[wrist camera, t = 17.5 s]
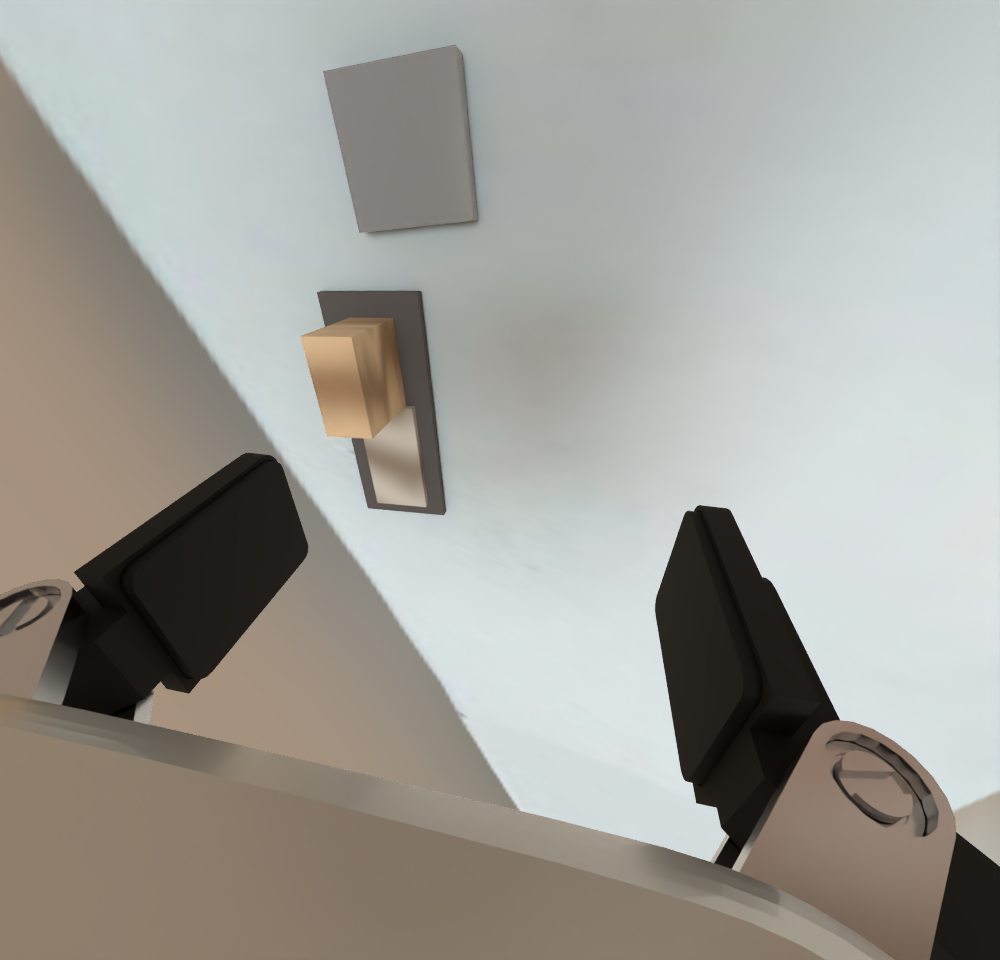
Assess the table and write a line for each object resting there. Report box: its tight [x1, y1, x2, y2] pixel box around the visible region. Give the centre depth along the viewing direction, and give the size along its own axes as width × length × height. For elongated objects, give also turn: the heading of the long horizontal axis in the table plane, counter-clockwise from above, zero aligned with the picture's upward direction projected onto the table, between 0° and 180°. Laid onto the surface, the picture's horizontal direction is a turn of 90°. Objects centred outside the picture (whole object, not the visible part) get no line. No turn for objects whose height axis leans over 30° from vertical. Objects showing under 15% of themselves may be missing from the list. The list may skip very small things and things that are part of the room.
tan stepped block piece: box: [301, 318, 428, 507], centre depth 33 cm, size 17×5×6 cm, turn 1°
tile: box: [323, 45, 478, 233], centre depth 25 cm, size 8×2×8 cm
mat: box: [317, 291, 446, 515], centre depth 36 cm, size 20×8×1 cm, turn 1°
